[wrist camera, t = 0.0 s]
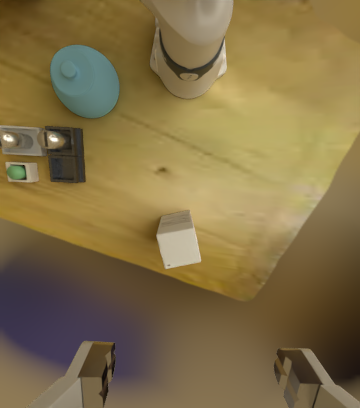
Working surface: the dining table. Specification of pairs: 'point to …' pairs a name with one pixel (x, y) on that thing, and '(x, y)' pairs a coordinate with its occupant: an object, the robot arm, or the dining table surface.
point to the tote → (32, 131)
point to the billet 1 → (15, 140)
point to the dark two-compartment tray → (67, 157)
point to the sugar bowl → (84, 81)
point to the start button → (16, 172)
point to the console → (30, 171)
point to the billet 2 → (54, 140)
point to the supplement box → (178, 240)
